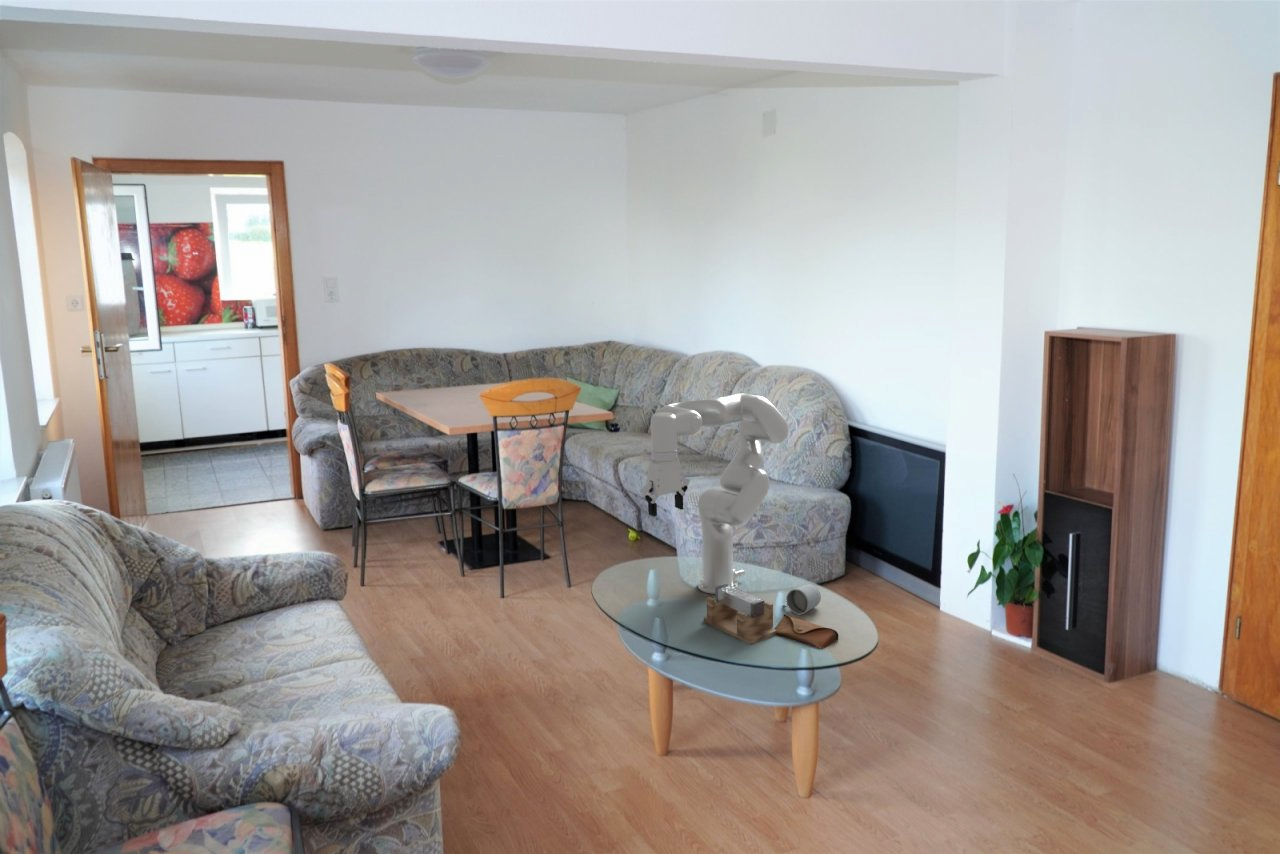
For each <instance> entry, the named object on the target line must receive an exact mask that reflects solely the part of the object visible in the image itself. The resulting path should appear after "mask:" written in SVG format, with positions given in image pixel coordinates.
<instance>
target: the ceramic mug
mask: <svg viewBox="0 0 1280 854" xmlns="http://www.w3.org/2000/svg"><path fill="white" fill-rule="evenodd" d="M821 599H822V595H821V593H820V590H819V588H818V587H816V586H815V585H813V584H811V583H810V584H809V583H806V584H801V585H800V586H798V587H795V588H793V589H791V590H789V591H788V593H787V595H786V599H785V600H787V601H786V602H787V605H788V606H789V607H788V606H787V607H788V609H789V608H790V609H789V610H790V611H791V612H792V613H794V614H795V615H798V616H799V615H804V614H807V613H808V612H809V611H811V610H812V609H815V608H816V607H817V606H818V605H819V604H820V602H821Z"/></svg>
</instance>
